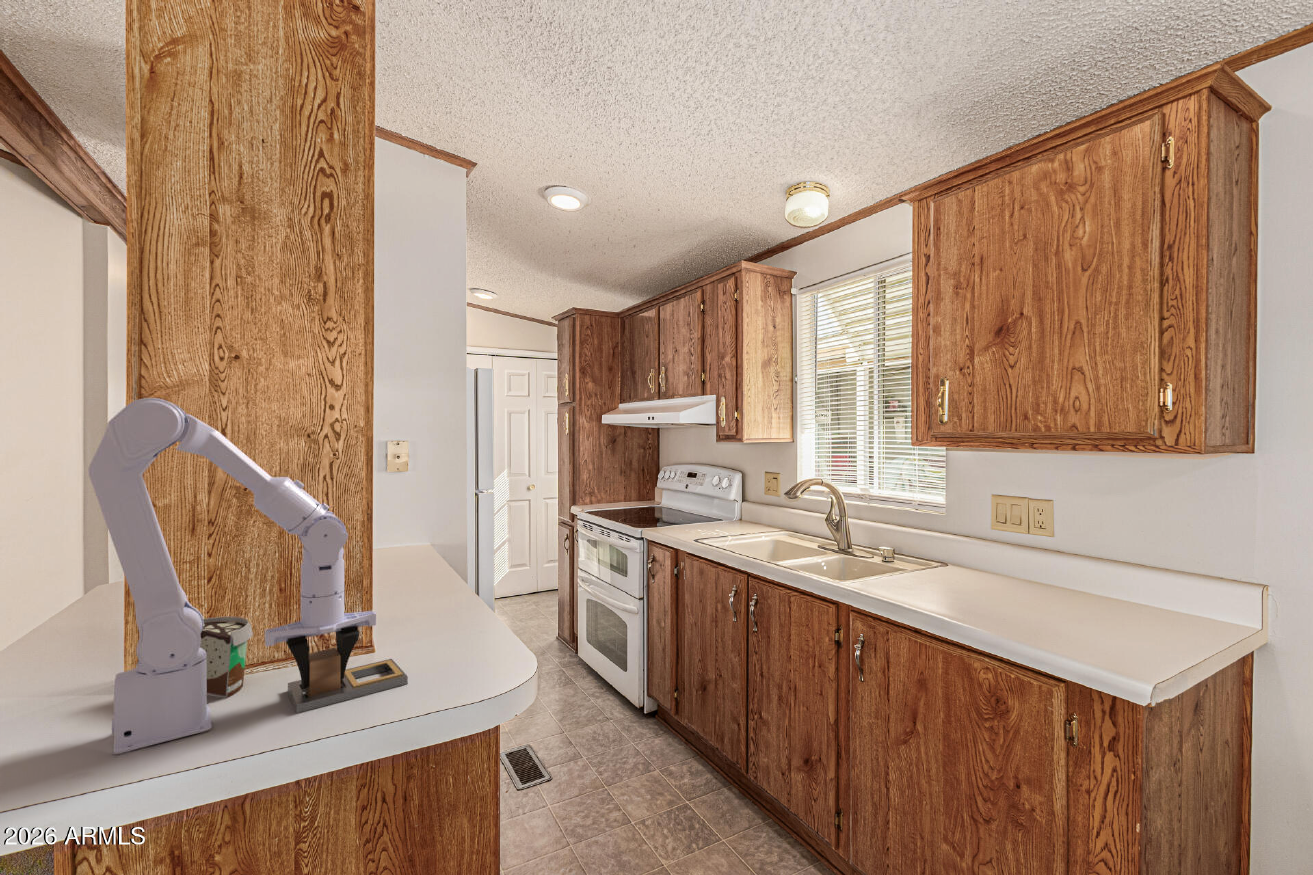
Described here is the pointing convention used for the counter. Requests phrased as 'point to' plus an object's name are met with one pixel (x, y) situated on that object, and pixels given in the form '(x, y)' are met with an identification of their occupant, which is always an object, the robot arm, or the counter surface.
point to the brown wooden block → (324, 672)
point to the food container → (225, 653)
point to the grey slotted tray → (350, 685)
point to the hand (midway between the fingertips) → (322, 681)
